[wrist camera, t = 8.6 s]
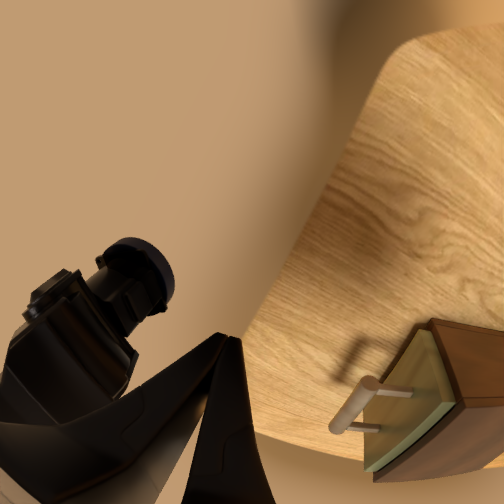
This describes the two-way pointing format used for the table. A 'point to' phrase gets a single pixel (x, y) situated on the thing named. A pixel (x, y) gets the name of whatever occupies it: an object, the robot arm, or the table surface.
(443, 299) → the table surface
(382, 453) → the drawer
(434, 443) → the cabinet
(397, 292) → the table surface
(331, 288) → the table surface
